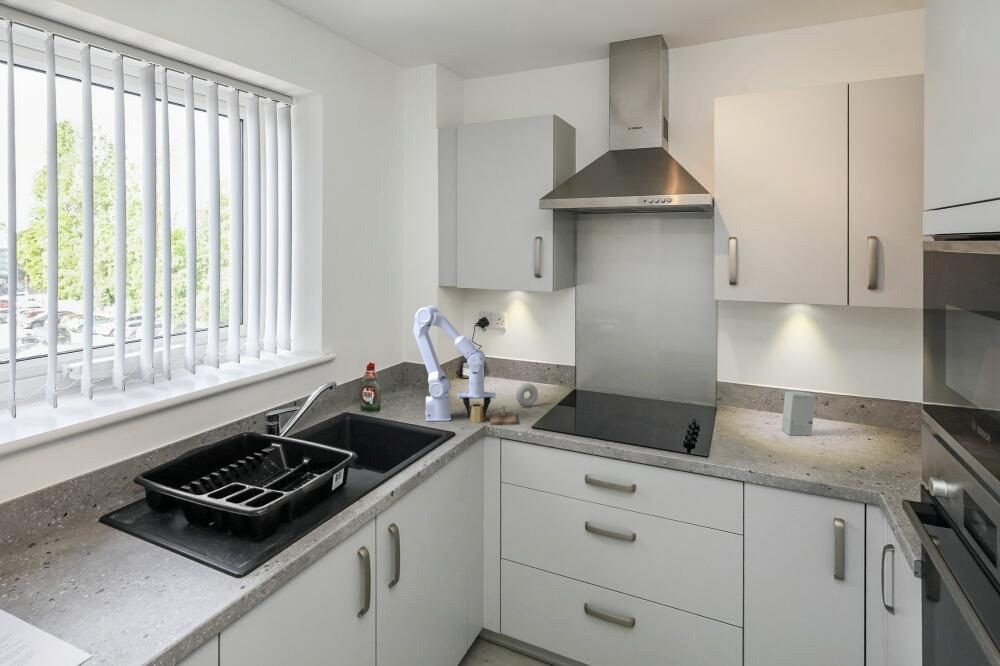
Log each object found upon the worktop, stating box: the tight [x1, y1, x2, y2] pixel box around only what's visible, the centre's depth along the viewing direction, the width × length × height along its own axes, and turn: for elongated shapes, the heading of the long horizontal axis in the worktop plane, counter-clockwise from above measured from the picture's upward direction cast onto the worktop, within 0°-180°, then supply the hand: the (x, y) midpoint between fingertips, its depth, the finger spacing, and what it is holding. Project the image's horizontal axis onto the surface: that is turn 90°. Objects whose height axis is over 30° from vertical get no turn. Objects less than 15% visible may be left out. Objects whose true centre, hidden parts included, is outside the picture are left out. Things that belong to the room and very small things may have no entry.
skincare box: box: [781, 390, 816, 436], centre depth 200 cm, size 8×6×15 cm
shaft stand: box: [488, 405, 518, 426], centre depth 216 cm, size 10×13×6 cm
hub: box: [469, 403, 485, 423], centre depth 215 cm, size 5×5×6 cm
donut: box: [515, 382, 539, 407], centre depth 235 cm, size 10×4×10 cm, turn 113°
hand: (476, 416), depth 215 cm, fingers closed on hub, 5 cm apart
